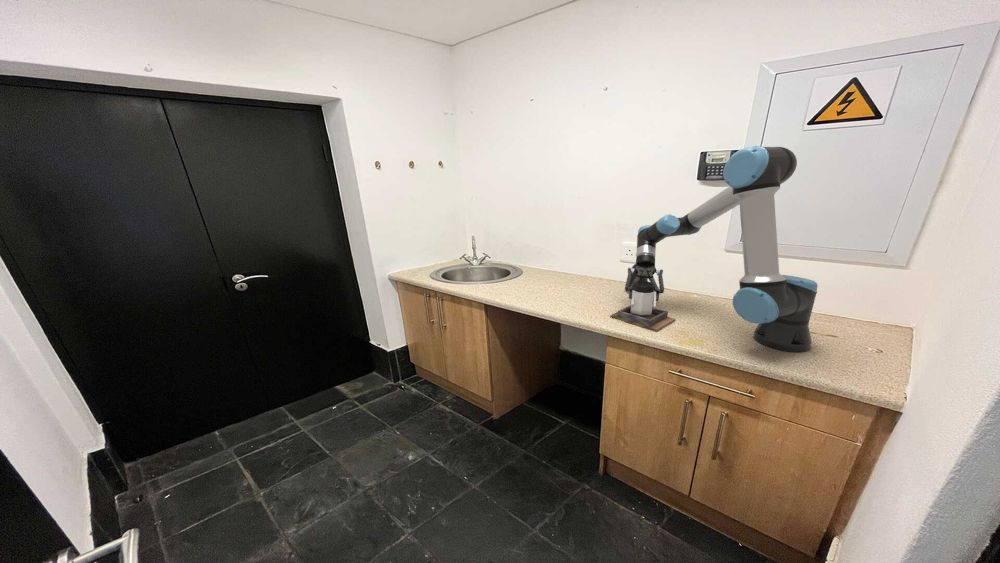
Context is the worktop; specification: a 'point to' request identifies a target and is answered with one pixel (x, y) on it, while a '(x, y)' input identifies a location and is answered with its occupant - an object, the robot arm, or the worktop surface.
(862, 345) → the worktop surface
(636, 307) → the jar
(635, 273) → the pump dispenser
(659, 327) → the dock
